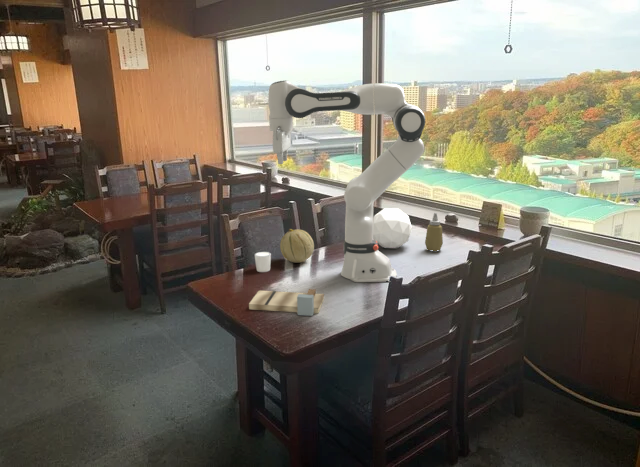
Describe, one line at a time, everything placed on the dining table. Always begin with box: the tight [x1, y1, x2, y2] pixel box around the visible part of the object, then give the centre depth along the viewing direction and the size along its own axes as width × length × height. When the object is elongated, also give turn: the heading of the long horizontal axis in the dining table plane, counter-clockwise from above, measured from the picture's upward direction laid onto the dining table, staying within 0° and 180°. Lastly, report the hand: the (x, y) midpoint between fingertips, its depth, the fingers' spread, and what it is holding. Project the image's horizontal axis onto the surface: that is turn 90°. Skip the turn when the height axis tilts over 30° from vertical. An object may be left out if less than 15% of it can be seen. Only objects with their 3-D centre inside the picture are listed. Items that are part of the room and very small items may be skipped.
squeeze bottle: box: [424, 212, 444, 251], centre depth 222 cm, size 8×8×18 cm
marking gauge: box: [297, 288, 317, 317], centre depth 164 cm, size 5×14×6 cm, turn 171°
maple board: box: [248, 290, 325, 314], centre depth 168 cm, size 24×12×2 cm, turn 81°
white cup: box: [254, 251, 272, 273], centre depth 201 cm, size 7×7×7 cm
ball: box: [373, 207, 413, 249], centre depth 228 cm, size 19×20×20 cm
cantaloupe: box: [279, 228, 315, 264], centre depth 210 cm, size 15×15×15 cm
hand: (282, 162), depth 185 cm, fingers open, 8 cm apart
